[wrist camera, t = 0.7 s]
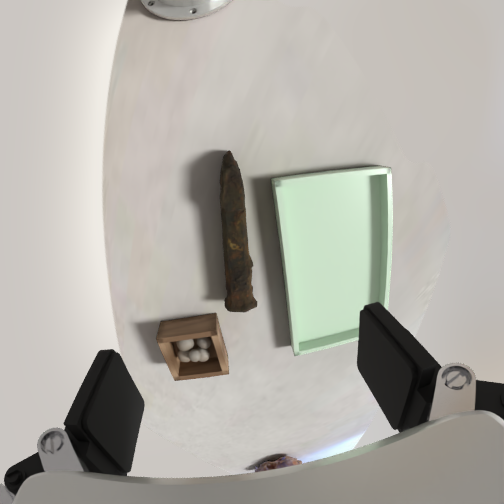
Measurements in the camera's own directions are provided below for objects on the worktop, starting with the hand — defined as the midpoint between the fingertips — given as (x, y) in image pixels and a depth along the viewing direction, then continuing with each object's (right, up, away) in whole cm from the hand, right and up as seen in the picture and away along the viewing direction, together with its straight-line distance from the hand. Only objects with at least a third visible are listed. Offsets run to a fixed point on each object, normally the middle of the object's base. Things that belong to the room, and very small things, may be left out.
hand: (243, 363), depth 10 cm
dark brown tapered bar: (-2, +7, +25) cm, 26 cm away
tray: (+12, +3, +28) cm, 30 cm away
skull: (+6, -46, +46) cm, 66 cm away
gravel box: (-8, -9, +30) cm, 32 cm away
